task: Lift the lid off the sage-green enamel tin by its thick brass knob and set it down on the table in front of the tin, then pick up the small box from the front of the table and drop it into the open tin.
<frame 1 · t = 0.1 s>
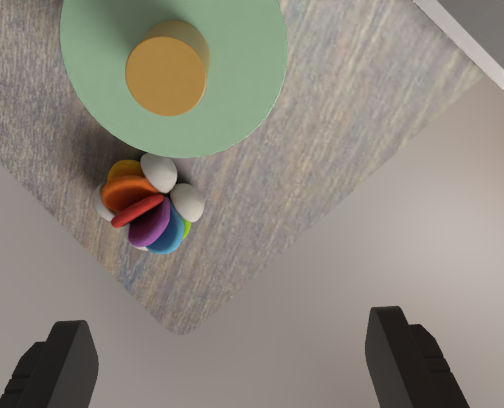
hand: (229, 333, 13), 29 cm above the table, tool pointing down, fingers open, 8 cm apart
rainbow disc rolling toy: (153, 191, 44), on the table
lid: (176, 54, 29), point 8 cm above the table, touching tin
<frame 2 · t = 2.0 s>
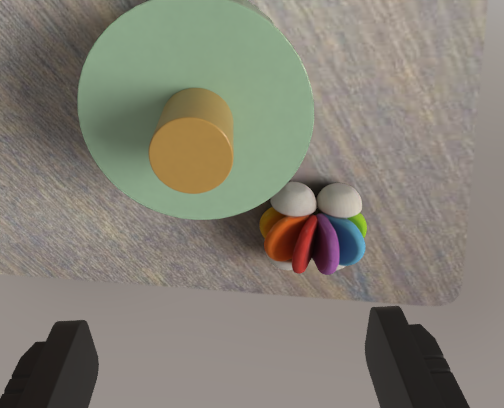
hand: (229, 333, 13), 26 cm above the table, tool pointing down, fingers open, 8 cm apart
rainbow disc rolling toy: (309, 214, 42), on the table
lid: (198, 119, 28), point 8 cm above the table, touching tin
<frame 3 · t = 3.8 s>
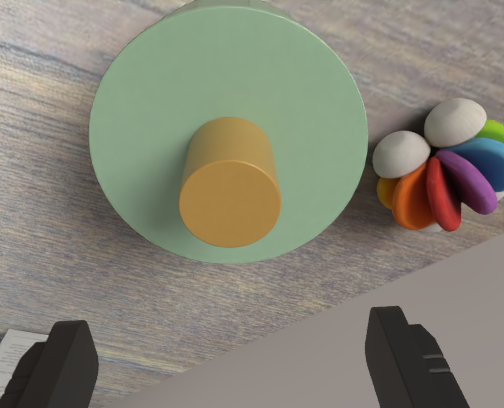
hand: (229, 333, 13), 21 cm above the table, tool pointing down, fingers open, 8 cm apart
rainbow disc rolling toy: (429, 155, 34), on the table
small box: (51, 354, 44), on the table
lid: (230, 151, 23), point 8 cm above the table, touching tin
tin: (230, 100, 31), on the table
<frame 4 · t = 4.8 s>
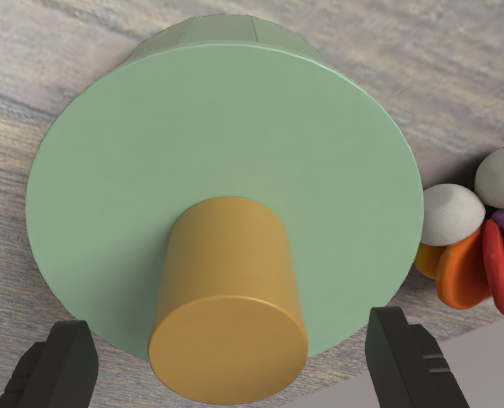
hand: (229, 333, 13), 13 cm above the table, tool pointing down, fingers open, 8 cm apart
rainbow disc rolling toy: (476, 209, 27), on the table
lid: (228, 237, 17), point 8 cm above the table, touching tin
tin: (229, 146, 24), on the table
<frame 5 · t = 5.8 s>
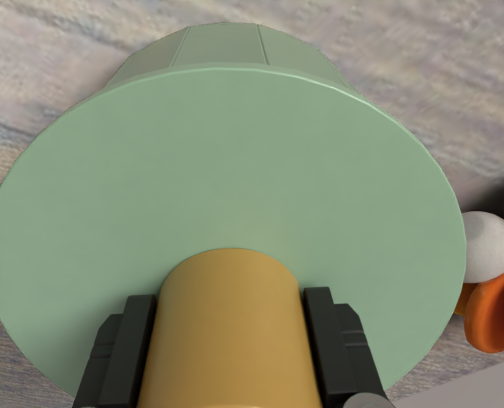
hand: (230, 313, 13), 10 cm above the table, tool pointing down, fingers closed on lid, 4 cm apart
lid: (231, 290, 14), point 8 cm above the table, touching gripper, tin
tin: (231, 169, 21), on the table
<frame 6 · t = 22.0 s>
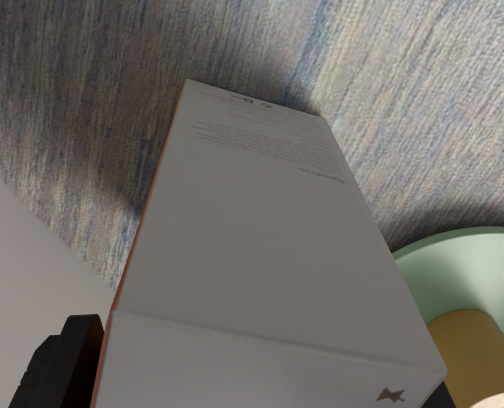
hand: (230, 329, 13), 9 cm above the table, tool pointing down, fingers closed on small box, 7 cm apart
small box: (232, 175, 21), on the table, touching gripper
lid: (451, 328, 25), point 1 cm above the table
when the fingers open (10 cm above the table, at t = 31.2 s): small box stays where it is, resting on tin.
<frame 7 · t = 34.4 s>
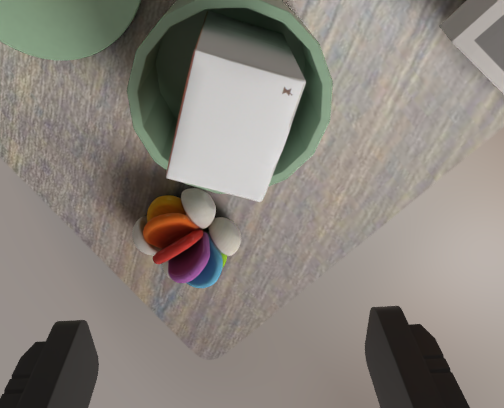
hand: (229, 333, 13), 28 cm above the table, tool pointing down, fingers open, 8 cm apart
rainbow disc rolling toy: (189, 223, 44), on the table
small box: (232, 71, 36), resting on tin
tin: (231, 72, 37), on the table
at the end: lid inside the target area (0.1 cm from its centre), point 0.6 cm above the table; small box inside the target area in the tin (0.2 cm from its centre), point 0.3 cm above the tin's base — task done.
